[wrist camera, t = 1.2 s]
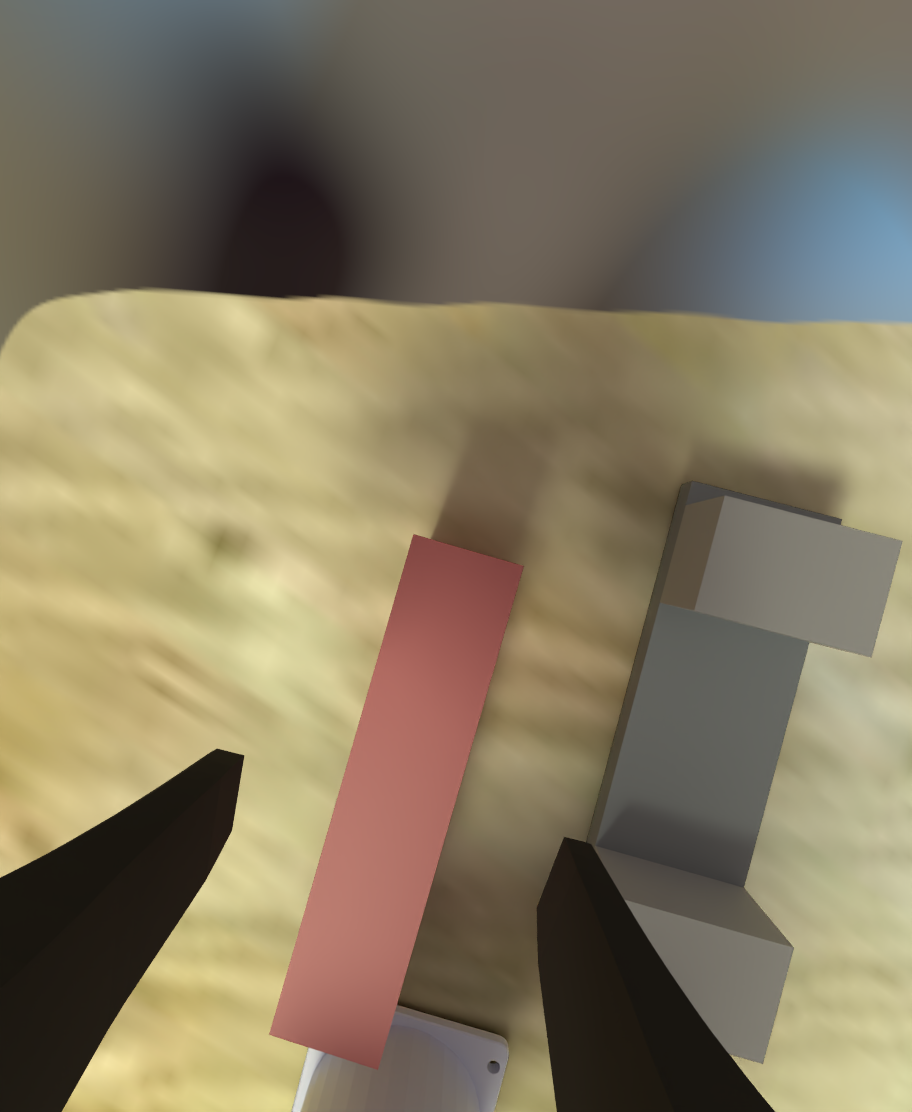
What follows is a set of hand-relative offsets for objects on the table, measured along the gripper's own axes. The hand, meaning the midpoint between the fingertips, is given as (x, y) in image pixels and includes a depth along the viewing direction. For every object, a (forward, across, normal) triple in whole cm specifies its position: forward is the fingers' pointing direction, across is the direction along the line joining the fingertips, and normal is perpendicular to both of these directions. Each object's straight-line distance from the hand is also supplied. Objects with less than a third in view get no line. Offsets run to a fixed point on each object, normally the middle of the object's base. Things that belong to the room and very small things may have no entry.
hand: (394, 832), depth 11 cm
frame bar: (+10, 0, +4) cm, 10 cm away
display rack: (+10, -11, +1) cm, 15 cm away
